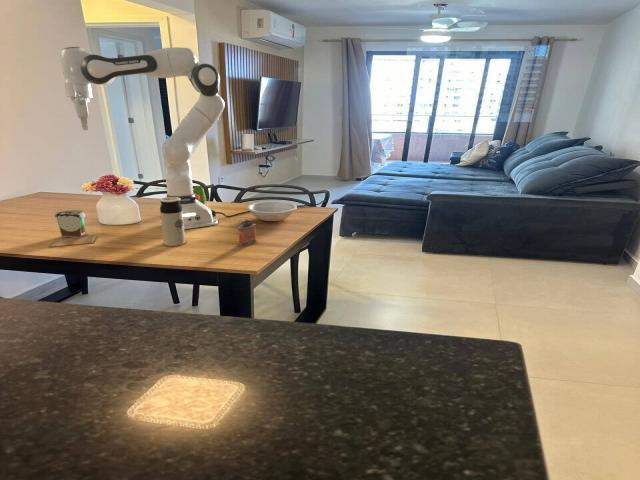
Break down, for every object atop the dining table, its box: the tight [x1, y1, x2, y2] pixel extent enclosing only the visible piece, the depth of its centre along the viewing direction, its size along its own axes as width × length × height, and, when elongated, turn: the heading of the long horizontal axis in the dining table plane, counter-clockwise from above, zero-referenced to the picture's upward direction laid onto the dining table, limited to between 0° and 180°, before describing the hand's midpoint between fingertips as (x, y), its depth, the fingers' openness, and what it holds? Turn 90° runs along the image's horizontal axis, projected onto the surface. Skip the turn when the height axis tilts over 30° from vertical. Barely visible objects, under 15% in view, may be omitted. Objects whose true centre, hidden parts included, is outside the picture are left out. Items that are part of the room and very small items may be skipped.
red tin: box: [237, 218, 257, 247], centre depth 151 cm, size 8×3×10 cm, turn 141°
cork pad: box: [49, 235, 96, 248], centre depth 151 cm, size 14×9×1 cm, turn 112°
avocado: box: [193, 185, 207, 205], centre depth 205 cm, size 8×8×12 cm
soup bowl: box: [246, 200, 298, 222], centre depth 186 cm, size 24×24×7 cm
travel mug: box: [159, 196, 186, 247], centre depth 149 cm, size 8×8×18 cm
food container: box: [54, 209, 87, 238], centre depth 157 cm, size 12×6×10 cm, turn 79°
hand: (85, 129), depth 154 cm, fingers open, 8 cm apart
